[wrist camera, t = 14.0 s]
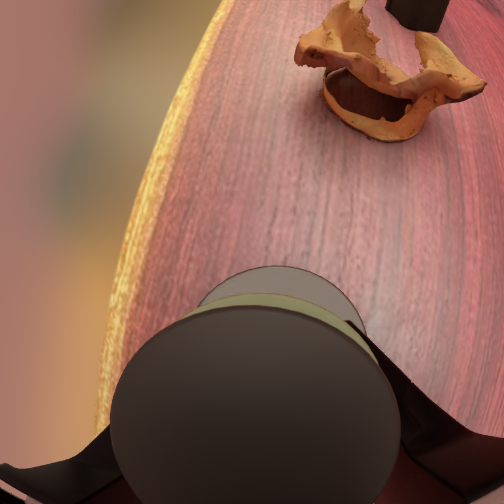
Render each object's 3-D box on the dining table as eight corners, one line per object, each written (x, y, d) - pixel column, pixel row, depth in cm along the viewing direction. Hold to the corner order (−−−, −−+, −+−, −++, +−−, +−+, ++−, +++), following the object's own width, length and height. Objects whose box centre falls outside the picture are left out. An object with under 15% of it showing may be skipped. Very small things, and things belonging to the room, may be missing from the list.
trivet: (289, 460, 14) (290, 475, 12) (162, 366, 16) (147, 370, 14) (390, 334, 15) (403, 335, 13) (259, 239, 17) (255, 228, 15)
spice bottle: (353, 390, 10) (454, 483, 3) (246, 442, 10) (191, 578, 3) (298, 286, 12) (325, 215, 4) (191, 342, 12) (50, 361, 4)
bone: (292, 144, 18) (292, 39, 10) (295, 50, 20) (292, -35, 12) (460, 167, 16) (523, 96, 8) (431, 72, 18) (461, 1, 10)
